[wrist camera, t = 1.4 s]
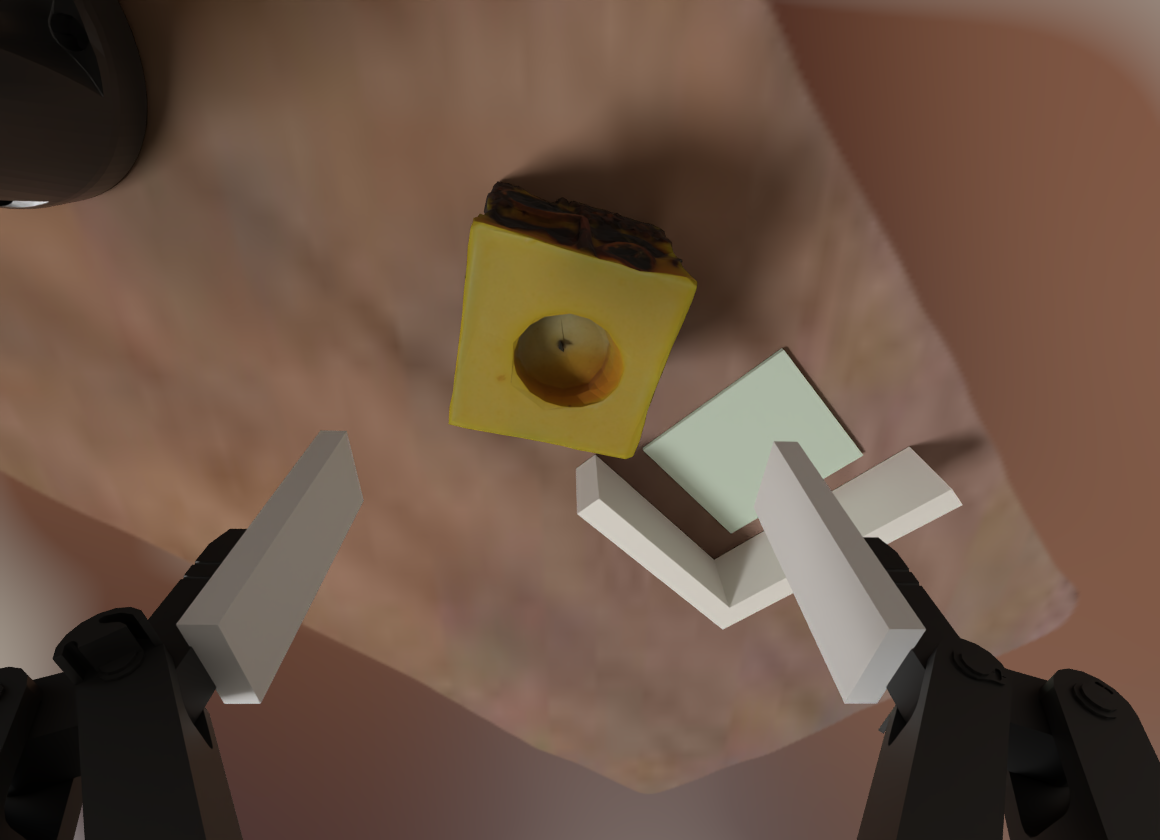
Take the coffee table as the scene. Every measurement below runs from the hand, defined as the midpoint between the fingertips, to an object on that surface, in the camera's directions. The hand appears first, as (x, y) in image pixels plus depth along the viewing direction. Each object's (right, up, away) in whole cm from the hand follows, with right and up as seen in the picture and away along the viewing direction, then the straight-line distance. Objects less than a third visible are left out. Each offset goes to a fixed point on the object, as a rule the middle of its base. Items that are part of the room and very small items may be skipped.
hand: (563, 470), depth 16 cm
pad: (+14, -1, +22) cm, 26 cm away
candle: (-1, +10, +16) cm, 18 cm away
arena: (+13, -1, +23) cm, 26 cm away
